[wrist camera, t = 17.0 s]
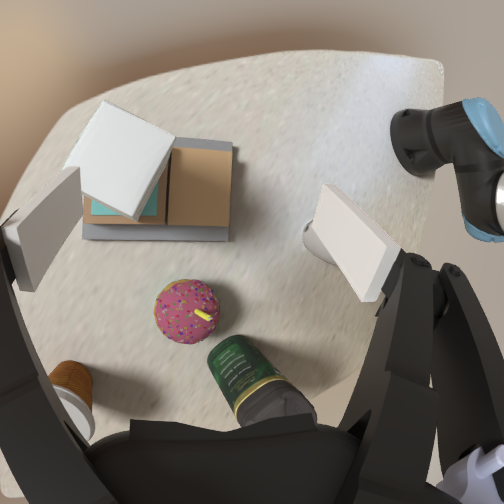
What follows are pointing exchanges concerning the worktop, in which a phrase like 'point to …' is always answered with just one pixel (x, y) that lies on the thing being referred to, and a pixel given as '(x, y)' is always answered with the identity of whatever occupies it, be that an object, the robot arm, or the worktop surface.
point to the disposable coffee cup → (75, 394)
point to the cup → (316, 244)
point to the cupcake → (187, 311)
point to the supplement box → (120, 159)
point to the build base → (176, 199)
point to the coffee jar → (254, 383)
